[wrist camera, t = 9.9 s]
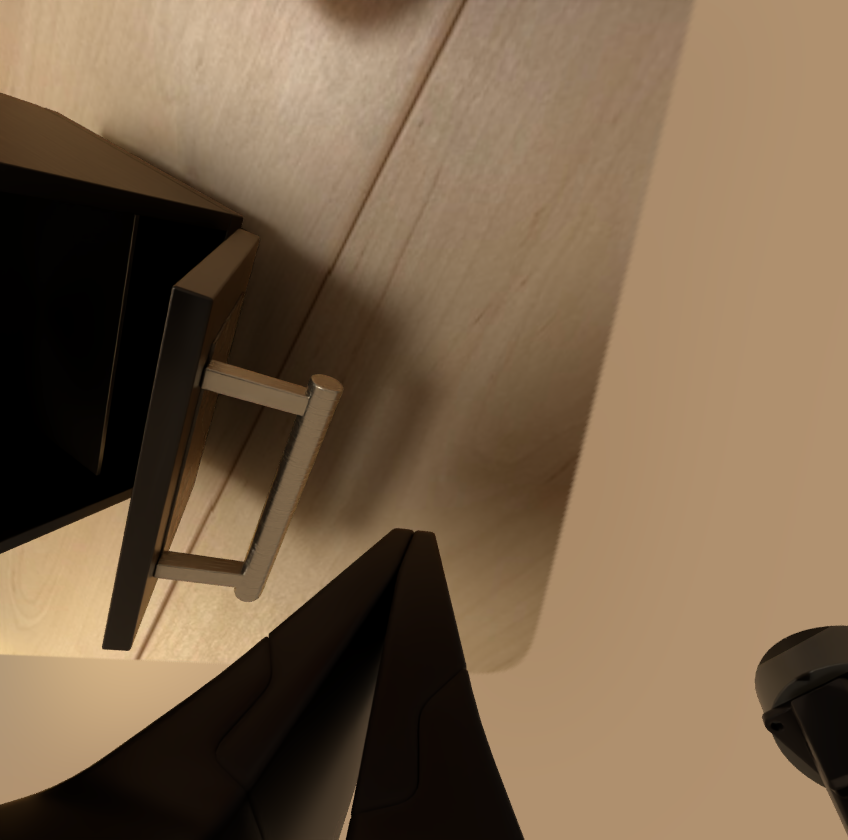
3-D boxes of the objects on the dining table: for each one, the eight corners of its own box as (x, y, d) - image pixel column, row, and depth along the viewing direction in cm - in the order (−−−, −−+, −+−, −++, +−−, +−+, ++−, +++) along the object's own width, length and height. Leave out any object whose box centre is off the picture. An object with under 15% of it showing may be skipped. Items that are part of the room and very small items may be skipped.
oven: (273, 223, 22) (-83, 143, 11) (206, 465, 29) (-62, 581, 17) (97, 125, 25) (-348, -26, 13) (71, 368, 31) (-244, 411, 20)
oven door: (350, 273, 22) (370, 353, 13) (268, 499, 28) (244, 659, 19) (238, 227, 20) (171, 284, 11) (175, 481, 26) (100, 650, 17)
